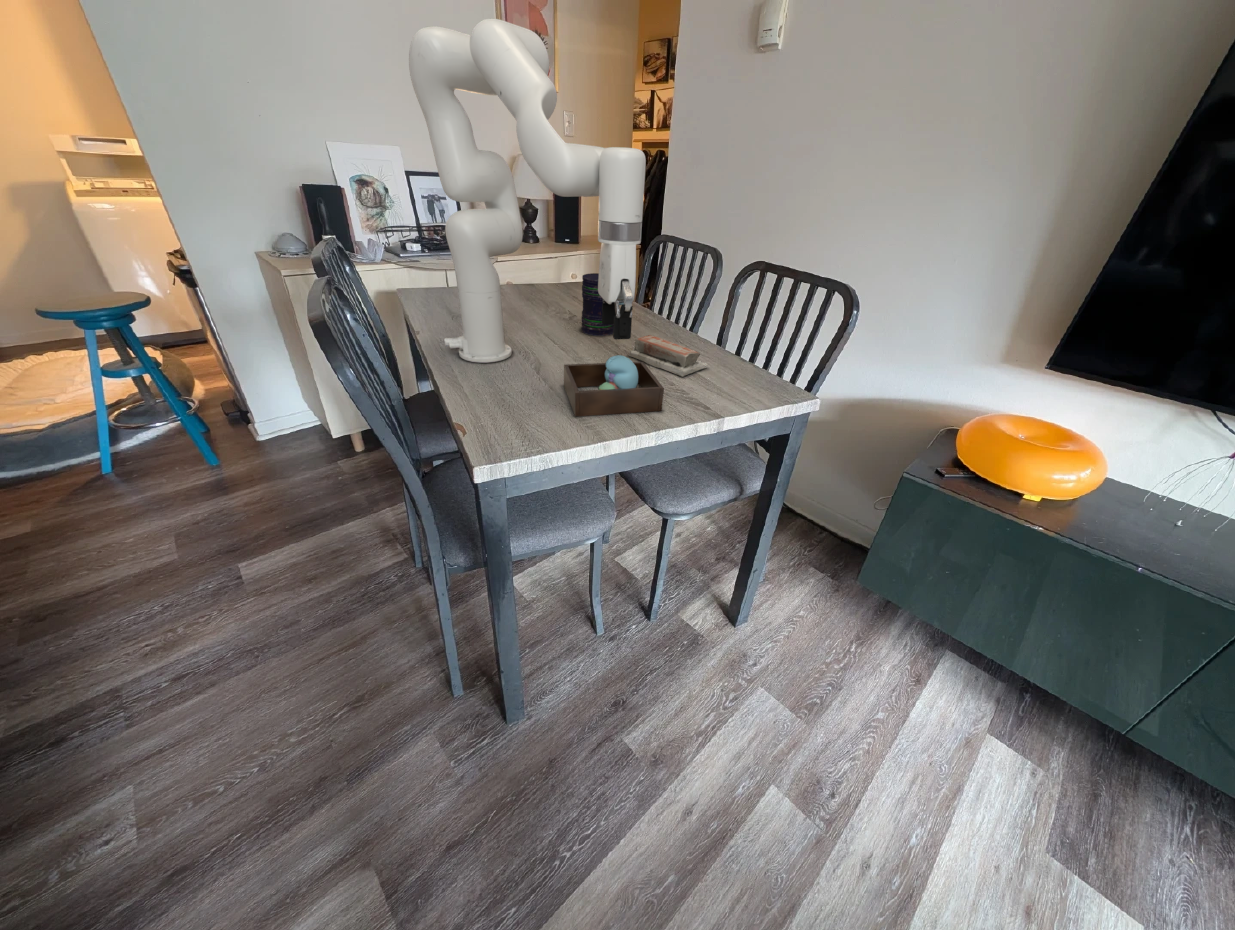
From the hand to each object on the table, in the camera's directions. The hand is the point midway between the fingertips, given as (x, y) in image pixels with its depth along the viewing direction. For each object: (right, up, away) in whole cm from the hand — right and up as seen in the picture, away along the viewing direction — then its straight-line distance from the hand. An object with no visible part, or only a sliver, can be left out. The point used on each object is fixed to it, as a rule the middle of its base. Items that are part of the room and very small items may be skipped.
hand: (615, 330), depth 91 cm
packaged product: (+13, 0, +28) cm, 31 cm away
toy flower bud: (-1, -12, +8) cm, 15 cm away
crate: (-1, -12, +8) cm, 14 cm away
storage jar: (-5, +13, +47) cm, 49 cm away
